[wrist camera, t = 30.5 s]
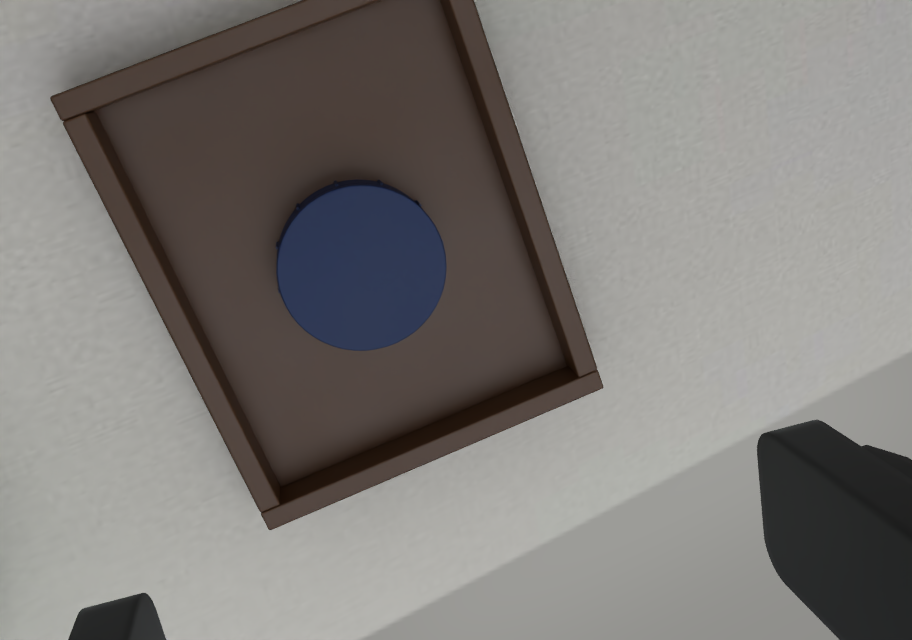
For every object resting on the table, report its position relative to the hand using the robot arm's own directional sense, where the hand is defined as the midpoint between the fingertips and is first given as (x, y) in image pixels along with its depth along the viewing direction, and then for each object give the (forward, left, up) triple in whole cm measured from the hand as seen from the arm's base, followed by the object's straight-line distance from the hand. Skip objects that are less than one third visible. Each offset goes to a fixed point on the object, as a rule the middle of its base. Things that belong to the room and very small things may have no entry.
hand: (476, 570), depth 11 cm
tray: (0, 0, -22) cm, 22 cm away
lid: (0, 0, -20) cm, 20 cm away
